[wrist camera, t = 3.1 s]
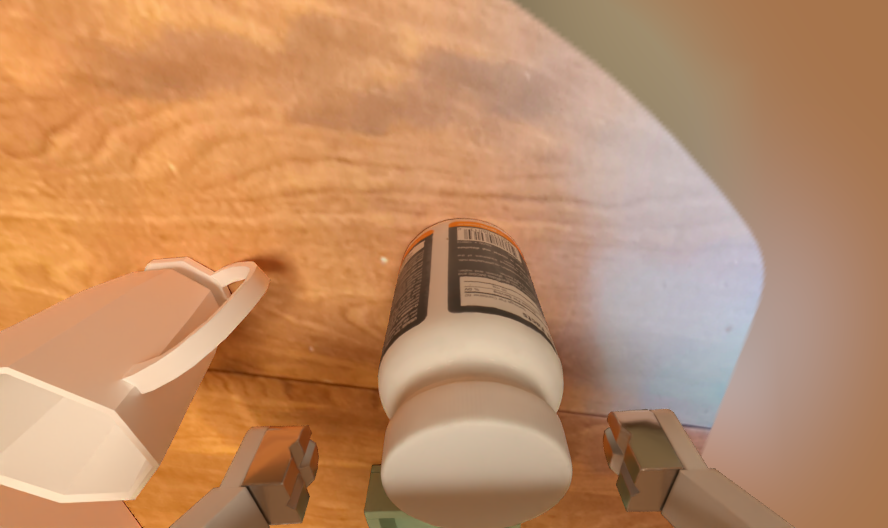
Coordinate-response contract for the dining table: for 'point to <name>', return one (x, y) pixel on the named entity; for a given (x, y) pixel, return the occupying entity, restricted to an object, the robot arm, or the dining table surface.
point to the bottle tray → (389, 508)
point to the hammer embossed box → (60, 512)
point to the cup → (113, 377)
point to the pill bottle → (470, 385)
